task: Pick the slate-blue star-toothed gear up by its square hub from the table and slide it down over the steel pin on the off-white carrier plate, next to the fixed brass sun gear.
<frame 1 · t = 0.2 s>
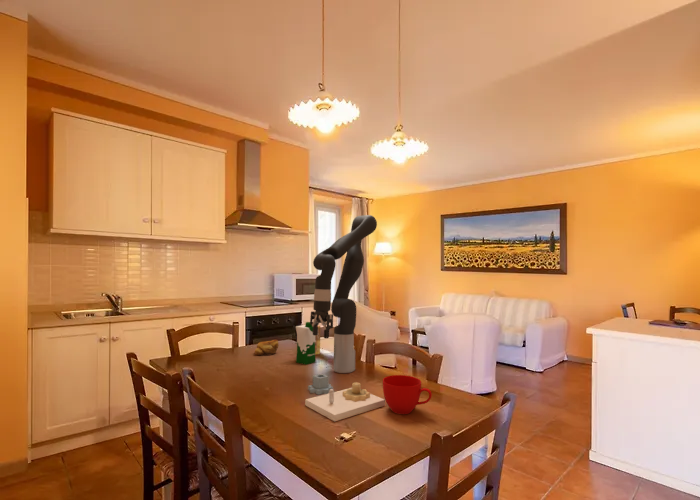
hand: (320, 336, 164), 17 cm above the table, tool pointing down, fingers open, 8 cm apart
carrier plate: (345, 405, 130), on the table
bread roll: (265, 354, 203), on the table
ceramic cup: (407, 412, 125), on the table
planet gear: (320, 390, 145), on the table
candy box: (311, 354, 205), on the table
milk carton: (305, 362, 187), on the table
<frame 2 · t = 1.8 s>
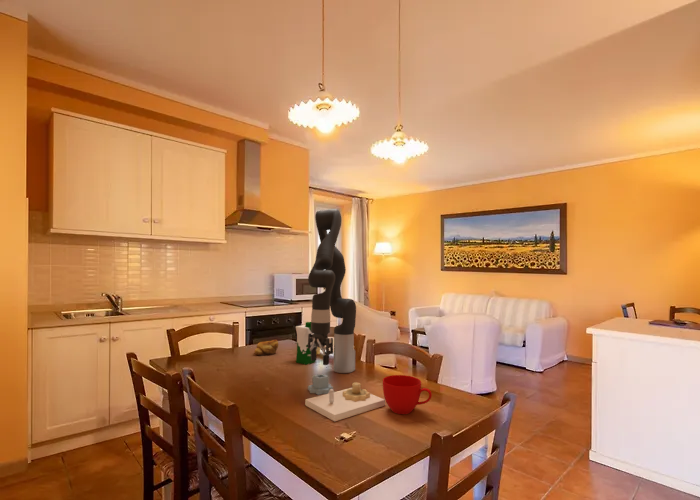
hand: (319, 362, 146), 11 cm above the table, tool pointing down, fingers open, 8 cm apart
nothing on the table moved.
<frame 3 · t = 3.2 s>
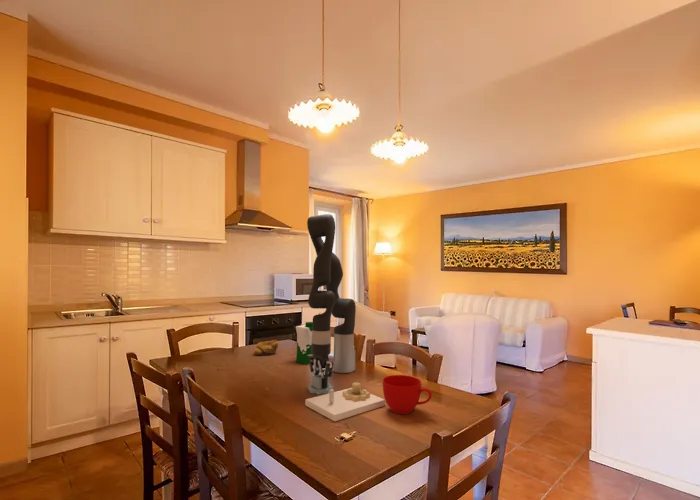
hand: (320, 385, 145), 2 cm above the table, tool pointing down, fingers closed on planet gear, 4 cm apart
planet gear: (320, 390, 145), on the table, touching gripper
everything else where it was.
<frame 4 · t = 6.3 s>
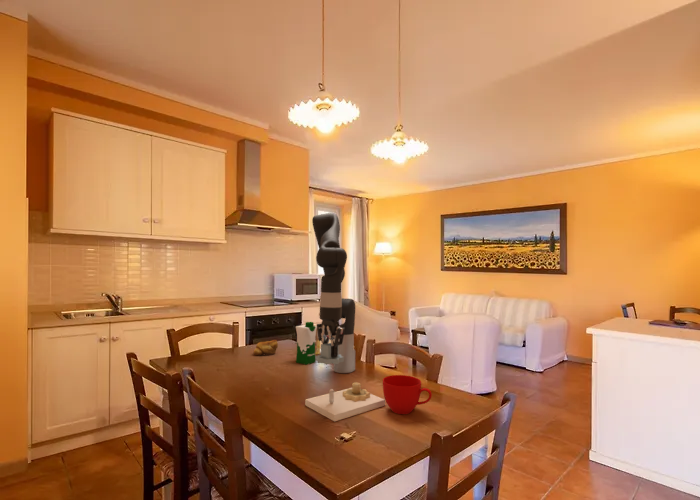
hand: (329, 355, 128), 18 cm above the table, tool pointing down, fingers closed on planet gear, 4 cm apart
planet gear: (329, 360, 127), point 16 cm above the table, touching gripper
everything else where it was.
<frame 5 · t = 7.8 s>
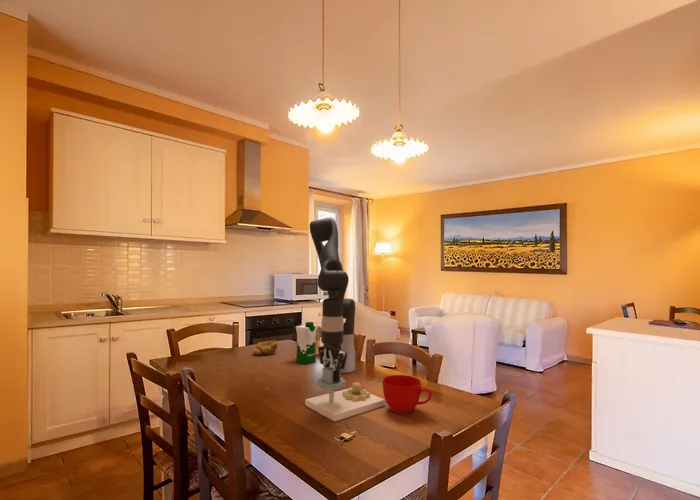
hand: (331, 379, 127), 10 cm above the table, tool pointing down, fingers closed on planet gear, 4 cm apart
planet gear: (331, 384, 127), point 8 cm above the table, touching gripper
everything else where it was.
when the fingers open (5 cm above the table, at t = 9.3 s): planet gear stays where it is, resting on carrier plate.
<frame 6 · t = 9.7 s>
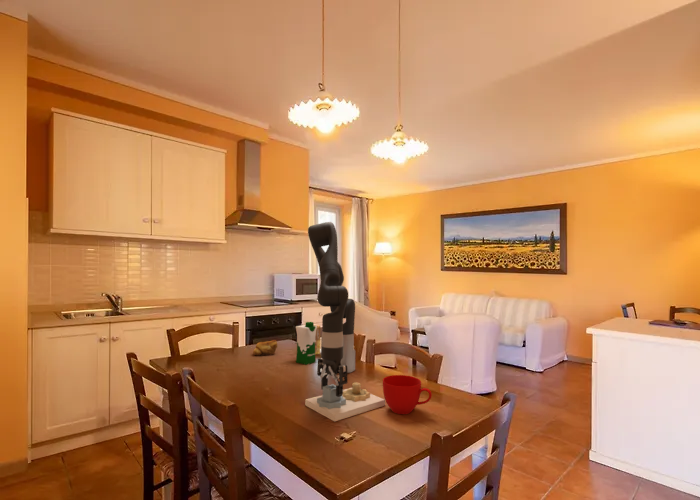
hand: (331, 392, 127), 6 cm above the table, tool pointing down, fingers open, 8 cm apart
planet gear: (331, 403, 126), point 2 cm above the table, touching carrier plate
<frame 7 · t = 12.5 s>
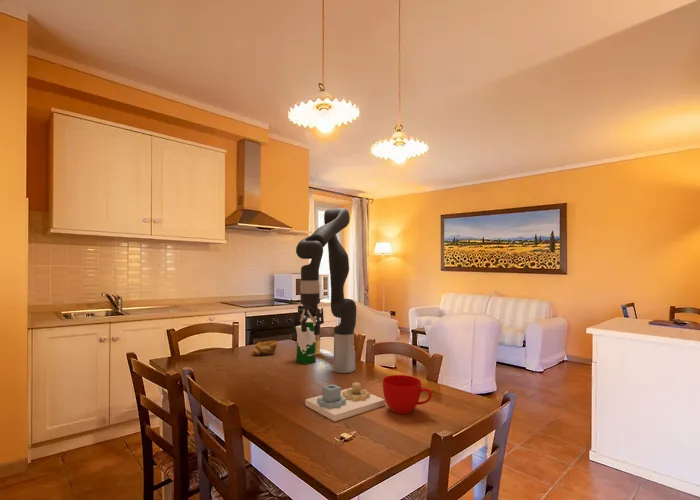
hand: (310, 333, 146), 22 cm above the table, tool pointing down, fingers open, 8 cm apart
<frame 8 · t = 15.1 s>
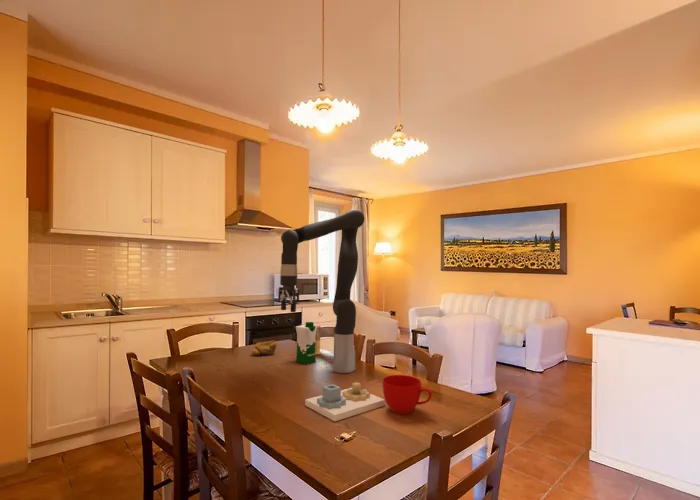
hand: (288, 311, 167), 28 cm above the table, tool pointing down, fingers open, 8 cm apart
at the end: planet gear 0.0 cm from the target spot on the carrier plate, point 2.0 cm above the carrier plate's base; planet gear tilted 0°; the gripper is holding nothing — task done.
